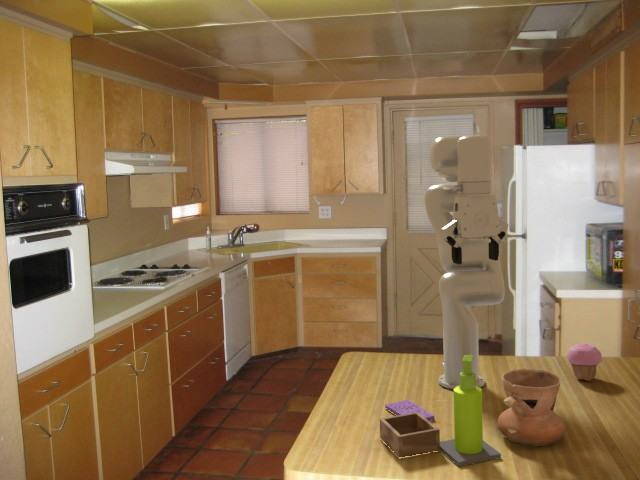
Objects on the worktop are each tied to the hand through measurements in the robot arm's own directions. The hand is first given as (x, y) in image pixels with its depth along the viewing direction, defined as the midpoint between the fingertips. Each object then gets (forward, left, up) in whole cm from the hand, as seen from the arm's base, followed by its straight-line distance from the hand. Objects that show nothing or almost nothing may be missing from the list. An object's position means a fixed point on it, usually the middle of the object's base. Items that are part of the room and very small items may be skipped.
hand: (475, 261), depth 155 cm
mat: (+16, -12, -38) cm, 43 cm away
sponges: (-8, -15, -39) cm, 42 cm away
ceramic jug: (+15, +5, -39) cm, 42 cm away
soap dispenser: (+16, -12, -38) cm, 42 cm away
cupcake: (-11, +40, -38) cm, 57 cm away
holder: (+8, -22, -38) cm, 45 cm away
